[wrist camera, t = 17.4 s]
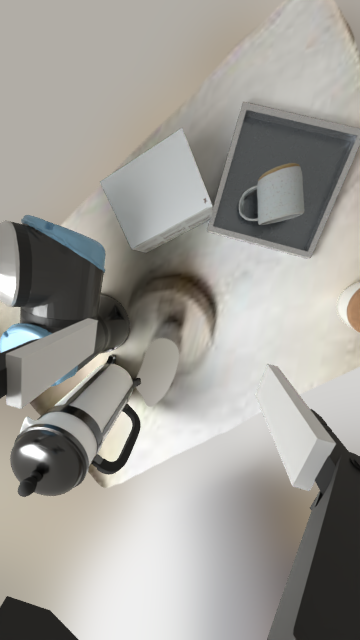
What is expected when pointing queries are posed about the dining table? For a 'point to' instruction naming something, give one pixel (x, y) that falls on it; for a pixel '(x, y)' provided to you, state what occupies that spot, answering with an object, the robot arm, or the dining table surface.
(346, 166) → the square tray
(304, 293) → the dining table surface
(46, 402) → the dining table surface
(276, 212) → the ceramic mug
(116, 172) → the supplement box
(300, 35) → the dining table surface
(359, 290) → the lidded jar
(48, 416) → the coffee press
